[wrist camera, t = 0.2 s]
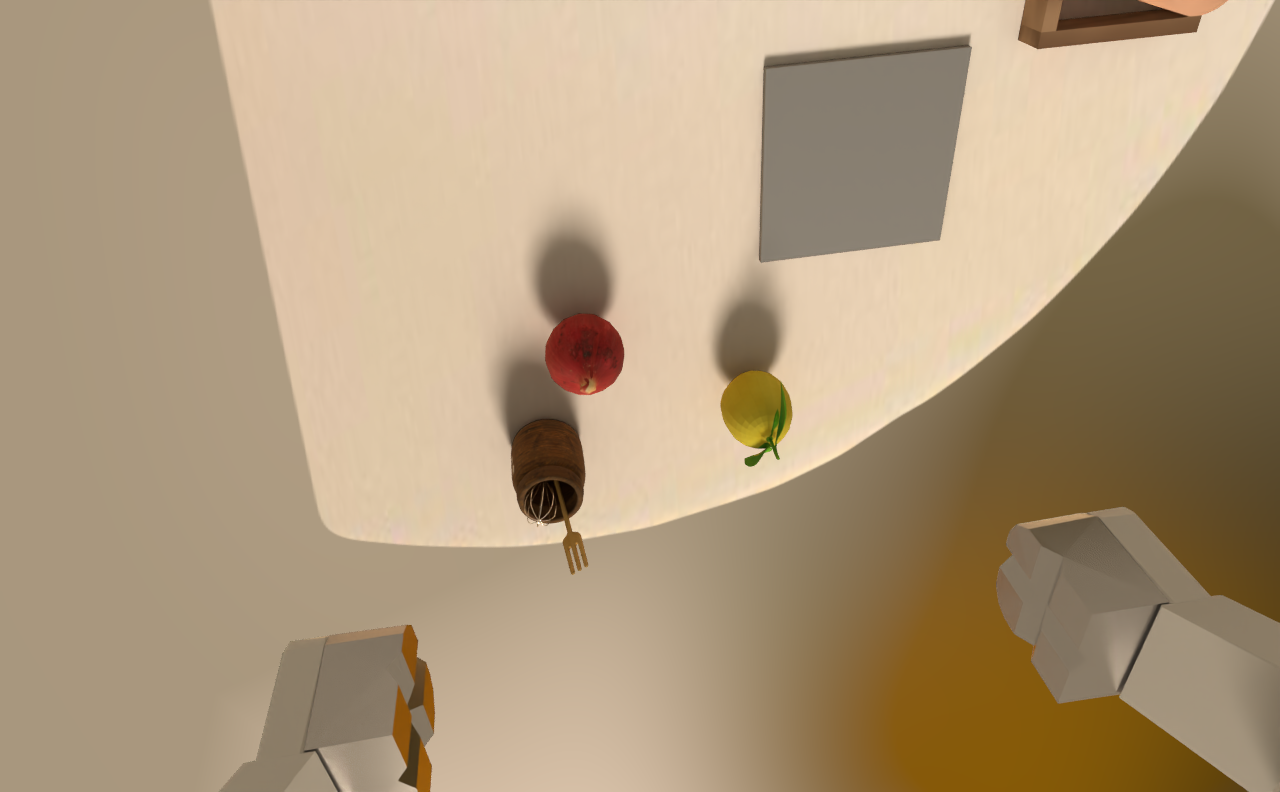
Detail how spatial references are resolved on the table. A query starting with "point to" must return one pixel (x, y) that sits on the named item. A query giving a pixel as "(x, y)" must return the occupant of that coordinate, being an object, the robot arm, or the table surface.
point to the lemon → (757, 411)
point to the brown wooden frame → (1096, 25)
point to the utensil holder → (550, 478)
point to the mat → (858, 151)
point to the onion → (584, 354)
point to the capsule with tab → (1187, 6)
